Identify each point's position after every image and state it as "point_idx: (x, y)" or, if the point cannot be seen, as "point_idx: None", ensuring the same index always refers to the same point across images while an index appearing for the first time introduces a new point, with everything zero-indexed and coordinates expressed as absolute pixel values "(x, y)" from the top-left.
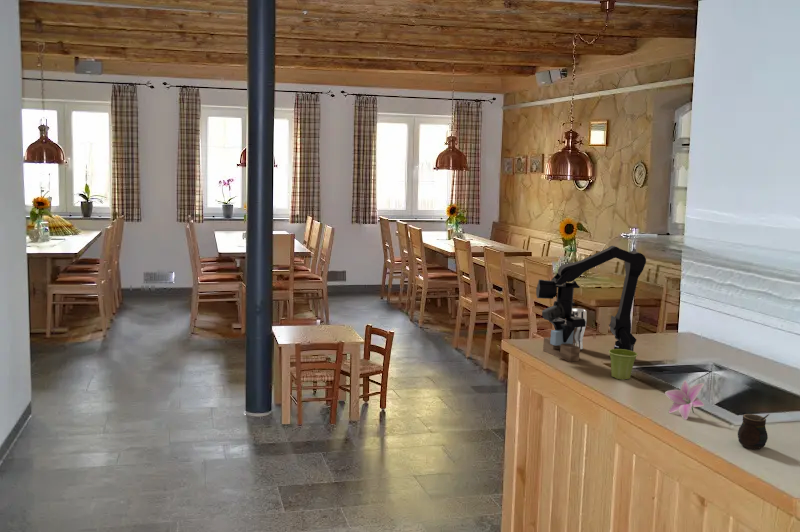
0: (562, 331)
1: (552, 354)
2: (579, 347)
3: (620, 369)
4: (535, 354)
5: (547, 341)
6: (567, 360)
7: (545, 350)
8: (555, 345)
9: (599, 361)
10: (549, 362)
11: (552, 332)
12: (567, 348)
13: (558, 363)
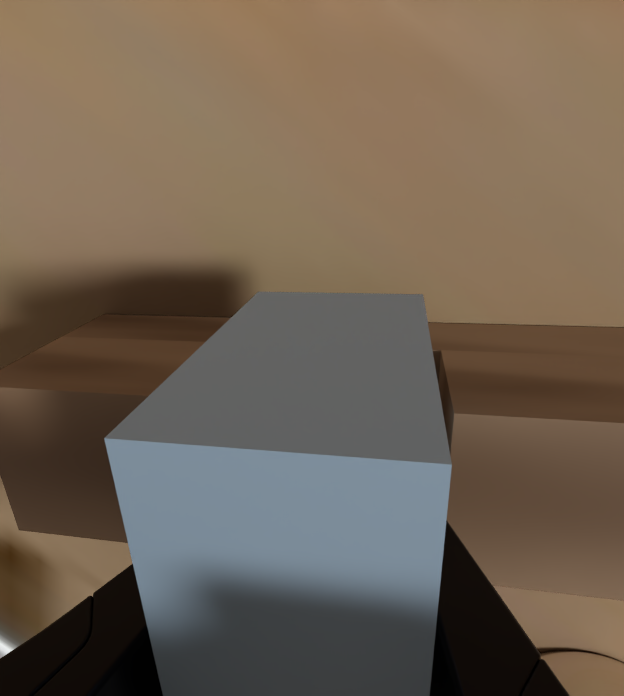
0: (180, 673)
1: (438, 323)
2: (17, 521)
3: None
4: (560, 65)
5: None
6: (145, 316)
7: (618, 335)
8: (256, 298)
9: (94, 567)
10: (91, 5)
11: (343, 419)
12: (68, 376)
13: (40, 116)
